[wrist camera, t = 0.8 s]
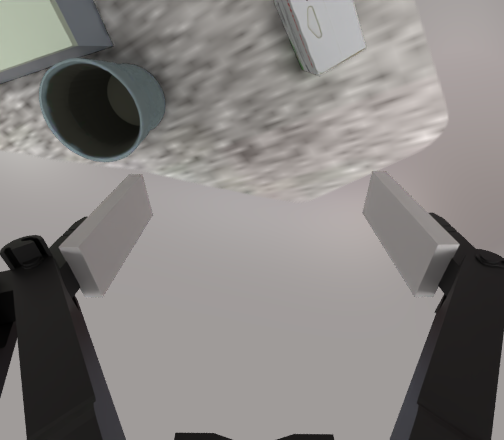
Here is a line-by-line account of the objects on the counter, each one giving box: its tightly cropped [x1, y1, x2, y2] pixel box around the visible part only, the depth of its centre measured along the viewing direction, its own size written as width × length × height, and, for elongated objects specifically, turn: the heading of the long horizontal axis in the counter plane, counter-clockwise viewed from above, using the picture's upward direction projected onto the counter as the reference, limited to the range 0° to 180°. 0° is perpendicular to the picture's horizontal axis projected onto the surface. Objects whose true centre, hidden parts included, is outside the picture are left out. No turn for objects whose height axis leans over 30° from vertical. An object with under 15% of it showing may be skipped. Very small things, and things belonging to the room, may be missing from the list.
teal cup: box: [39, 58, 165, 162], centre depth 33 cm, size 10×10×12 cm
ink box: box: [274, 0, 366, 76], centre depth 28 cm, size 9×5×12 cm, turn 29°
